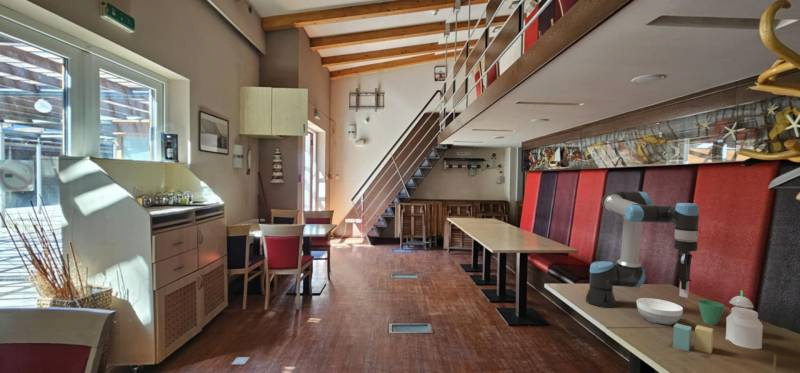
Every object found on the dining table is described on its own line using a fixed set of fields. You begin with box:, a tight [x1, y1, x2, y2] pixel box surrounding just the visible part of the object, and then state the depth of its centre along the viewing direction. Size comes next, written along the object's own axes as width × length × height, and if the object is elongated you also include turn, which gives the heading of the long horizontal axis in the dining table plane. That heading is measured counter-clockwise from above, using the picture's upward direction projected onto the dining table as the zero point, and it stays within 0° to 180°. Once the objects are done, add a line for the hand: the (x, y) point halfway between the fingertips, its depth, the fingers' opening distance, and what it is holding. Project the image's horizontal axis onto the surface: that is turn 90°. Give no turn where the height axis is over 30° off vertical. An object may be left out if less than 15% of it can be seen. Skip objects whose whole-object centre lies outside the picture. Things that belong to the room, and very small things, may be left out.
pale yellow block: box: [694, 324, 714, 354], centre depth 150 cm, size 5×5×9 cm
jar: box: [725, 307, 764, 350], centre depth 156 cm, size 12×10×15 cm
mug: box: [697, 298, 725, 326], centre depth 182 cm, size 15×10×10 cm
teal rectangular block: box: [672, 322, 693, 351], centre depth 151 cm, size 5×5×9 cm
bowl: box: [636, 297, 684, 326], centre depth 181 cm, size 19×19×9 cm
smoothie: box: [728, 289, 754, 315], centre depth 169 cm, size 8×8×20 cm
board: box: [668, 340, 714, 359], centre depth 151 cm, size 13×12×1 cm
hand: (683, 296), depth 151 cm, fingers closed
